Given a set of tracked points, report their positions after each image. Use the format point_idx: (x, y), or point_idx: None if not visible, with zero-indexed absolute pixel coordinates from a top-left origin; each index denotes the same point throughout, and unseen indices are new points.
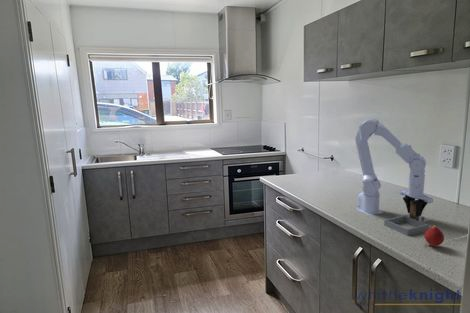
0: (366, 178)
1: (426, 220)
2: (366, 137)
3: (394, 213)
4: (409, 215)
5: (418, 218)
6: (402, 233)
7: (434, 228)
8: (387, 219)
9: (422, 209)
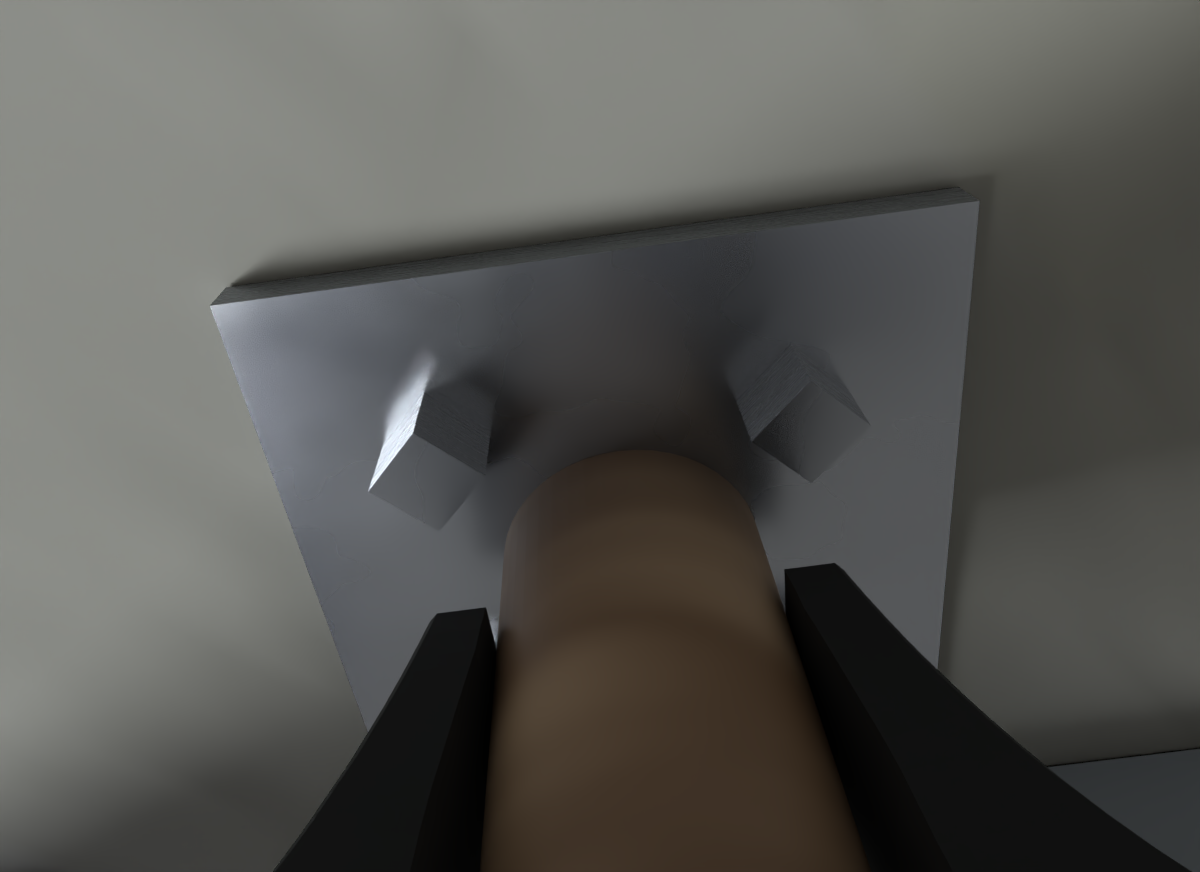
0: None
1: (931, 374)
2: None
3: (65, 675)
4: (390, 528)
5: (756, 532)
6: None
7: None
8: None
9: (970, 750)
